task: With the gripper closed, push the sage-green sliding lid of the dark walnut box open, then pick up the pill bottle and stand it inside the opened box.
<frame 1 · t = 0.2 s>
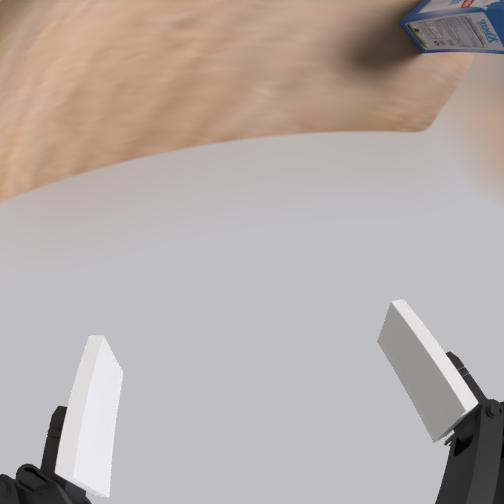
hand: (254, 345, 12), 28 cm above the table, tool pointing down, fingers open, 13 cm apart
milk carton: (424, 23, 27), on the table
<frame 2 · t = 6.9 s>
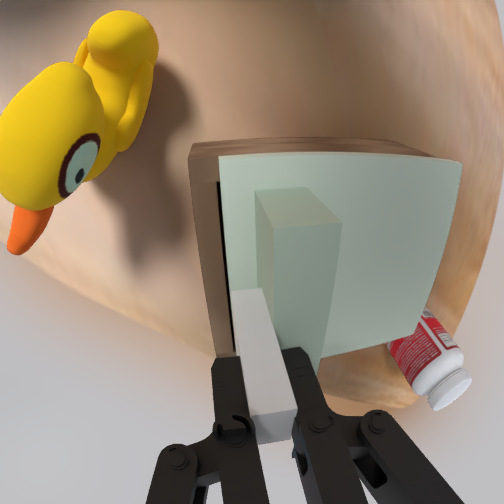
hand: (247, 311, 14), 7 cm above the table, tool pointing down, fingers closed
lid: (366, 293, 15), point 7 cm above the table, slide at 1.5 cm, touching gripper
duckling: (111, 109, 15), on the table
pill bottle: (402, 320, 29), on the table
box: (301, 234, 21), on the table
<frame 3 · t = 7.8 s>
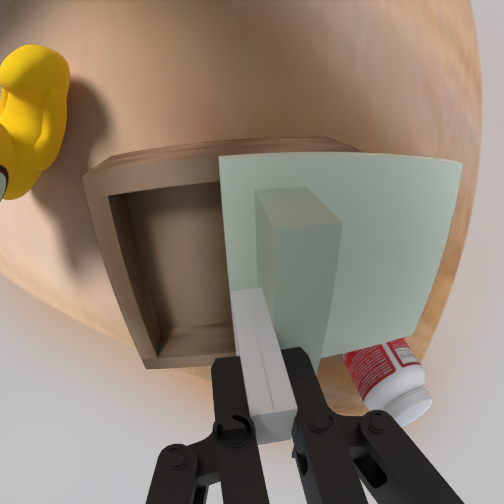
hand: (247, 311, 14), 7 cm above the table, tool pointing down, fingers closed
lid: (366, 293, 15), point 7 cm above the table, slide at 6.9 cm, touching gripper
duckling: (44, 128, 14), on the table
pill bottle: (362, 330, 28), on the table
box: (227, 241, 20), on the table
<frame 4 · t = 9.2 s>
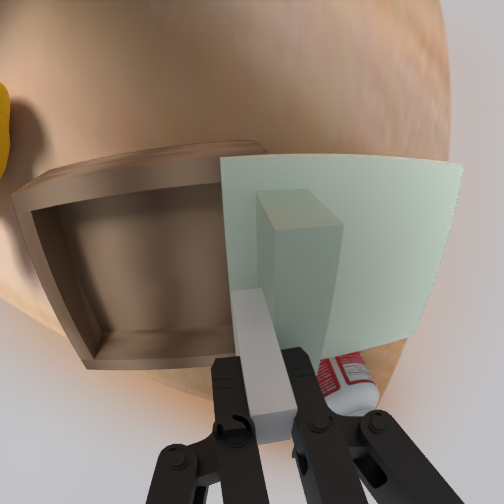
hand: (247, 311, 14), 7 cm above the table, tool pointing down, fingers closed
lid: (366, 295, 15), point 7 cm above the table, slide at 11.9 cm, touching gripper
pill bottle: (317, 340, 27), on the table
box: (157, 249, 20), on the table
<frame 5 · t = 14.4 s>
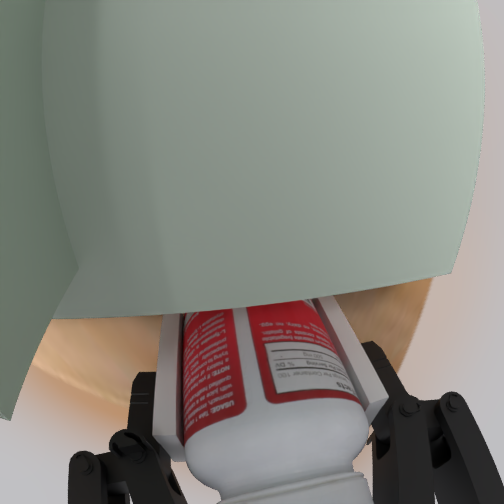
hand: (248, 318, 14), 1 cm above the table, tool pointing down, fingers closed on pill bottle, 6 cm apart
pill bottle: (245, 303, 15), on the table, touching gripper
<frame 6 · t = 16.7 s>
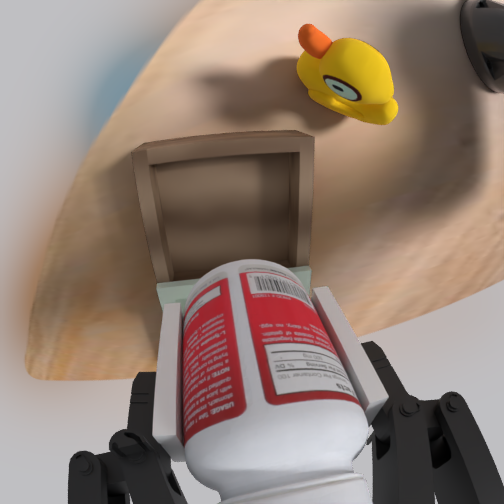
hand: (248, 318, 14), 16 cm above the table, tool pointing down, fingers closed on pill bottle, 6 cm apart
lid: (242, 347, 27), point 7 cm above the table, slide at 11.9 cm
duckling: (323, 81, 23), on the table
pill bottle: (245, 303, 15), point 15 cm above the table, touching gripper
box: (225, 205, 28), on the table
when the fingers open (5 cm above the table, at t = 19.3 s): pill bottle drops 2 cm, resting on box.
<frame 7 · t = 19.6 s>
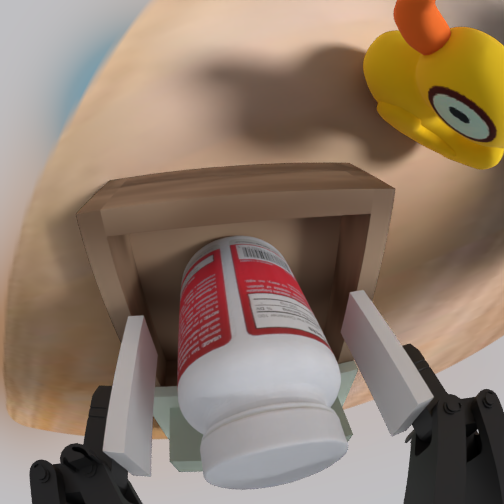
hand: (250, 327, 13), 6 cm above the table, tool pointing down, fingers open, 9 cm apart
lid: (258, 450, 18), point 7 cm above the table, slide at 11.9 cm
duckling: (391, 89, 14), on the table
pill bottle: (235, 278, 17), point 2 cm above the table, touching box
box: (237, 273, 19), on the table
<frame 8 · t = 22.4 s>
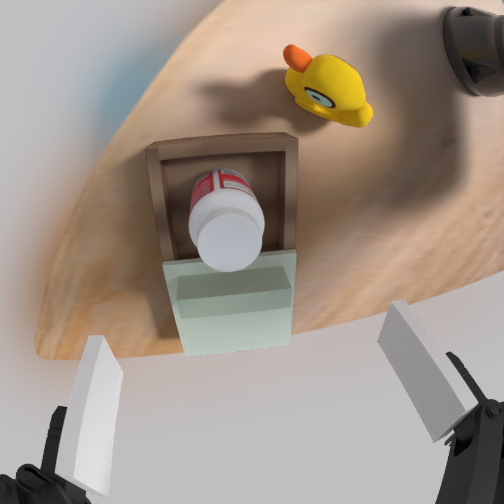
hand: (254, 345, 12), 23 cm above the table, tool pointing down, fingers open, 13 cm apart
lid: (235, 321, 32), point 7 cm above the table, slide at 11.9 cm
duckling: (310, 89, 28), on the table
pill bottle: (221, 193, 30), point 2 cm above the table, touching box
box: (223, 196, 32), on the table
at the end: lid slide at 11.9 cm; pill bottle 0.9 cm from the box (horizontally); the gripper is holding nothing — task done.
